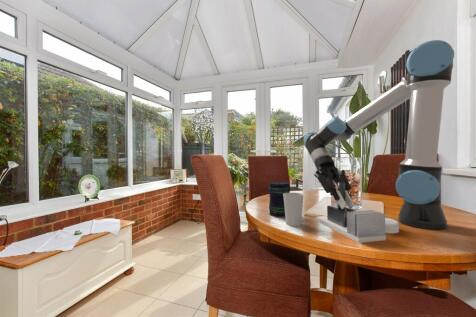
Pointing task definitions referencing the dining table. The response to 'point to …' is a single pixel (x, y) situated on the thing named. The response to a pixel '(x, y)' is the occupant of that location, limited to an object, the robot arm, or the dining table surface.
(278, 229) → the dining table surface
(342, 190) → the dark grey l-shaped bracket
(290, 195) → the cup
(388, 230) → the coaster
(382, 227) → the sleeve and socket
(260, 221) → the dining table surface
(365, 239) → the base board
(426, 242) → the dining table surface
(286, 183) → the storage jar
